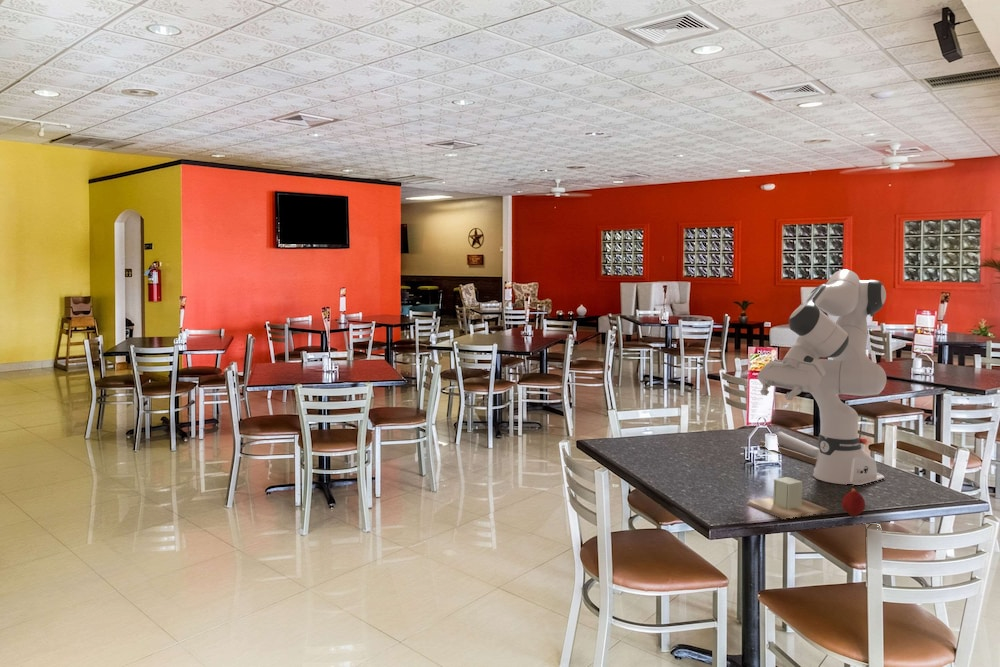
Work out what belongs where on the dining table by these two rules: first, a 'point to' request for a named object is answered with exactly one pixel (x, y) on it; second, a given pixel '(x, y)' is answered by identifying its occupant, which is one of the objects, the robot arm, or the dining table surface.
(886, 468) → the dining table surface
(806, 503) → the post board
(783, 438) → the tube
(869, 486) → the dining table surface
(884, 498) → the dining table surface
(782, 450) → the tube rack
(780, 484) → the slotted sage cube
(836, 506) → the dining table surface
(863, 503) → the onion
